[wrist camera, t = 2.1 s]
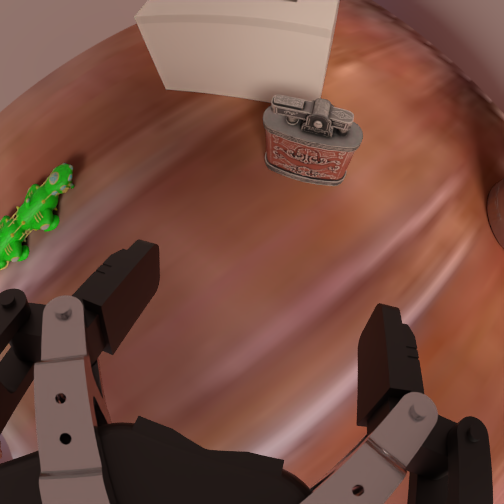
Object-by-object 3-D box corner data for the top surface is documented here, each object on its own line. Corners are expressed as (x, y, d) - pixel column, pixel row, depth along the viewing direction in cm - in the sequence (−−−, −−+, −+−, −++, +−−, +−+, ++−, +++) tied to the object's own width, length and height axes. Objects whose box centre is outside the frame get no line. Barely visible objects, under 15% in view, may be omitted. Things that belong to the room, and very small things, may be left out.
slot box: (335, 23, 35) (346, -43, 24) (317, 112, 32) (332, 30, 20) (214, 7, 37) (202, -55, 26) (165, 89, 34) (133, 17, 22)
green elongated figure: (95, 196, 32) (76, 181, 28) (1, 293, 30) (-22, 288, 26) (75, 159, 33) (57, 142, 29) (-13, 252, 32) (-34, 245, 27)
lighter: (347, 162, 31) (372, 103, 21) (341, 191, 30) (368, 137, 20) (269, 143, 31) (268, 78, 22) (261, 171, 31) (256, 111, 21)
